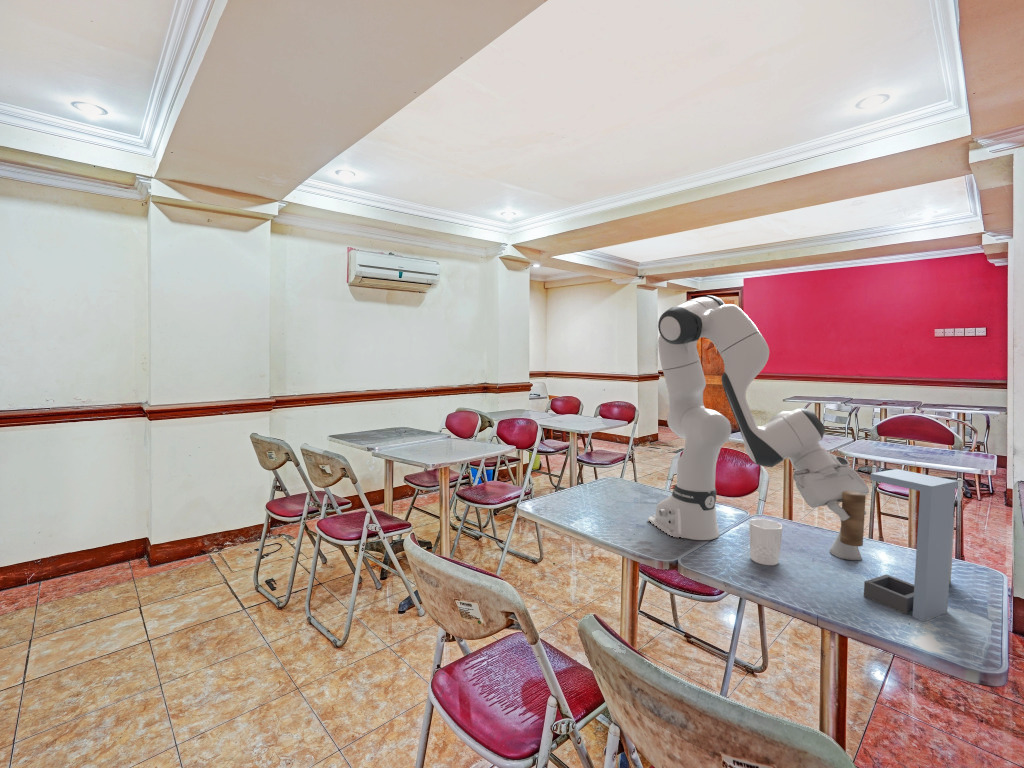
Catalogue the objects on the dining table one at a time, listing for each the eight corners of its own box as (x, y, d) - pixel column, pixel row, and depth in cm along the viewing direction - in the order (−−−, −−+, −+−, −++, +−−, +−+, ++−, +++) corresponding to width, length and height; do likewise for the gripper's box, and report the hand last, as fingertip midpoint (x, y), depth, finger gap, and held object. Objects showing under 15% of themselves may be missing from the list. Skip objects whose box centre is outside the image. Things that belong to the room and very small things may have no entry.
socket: (863, 596, 111) (864, 581, 111) (885, 588, 115) (886, 574, 114) (906, 614, 104) (907, 598, 103) (928, 606, 107) (929, 590, 107)
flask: (851, 550, 137) (853, 515, 136) (867, 561, 130) (869, 525, 129) (824, 549, 137) (826, 515, 137) (839, 560, 130) (841, 524, 129)
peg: (835, 540, 118) (838, 492, 118) (847, 538, 120) (850, 490, 120) (855, 547, 114) (858, 497, 114) (867, 544, 116) (869, 495, 115)
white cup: (743, 560, 130) (745, 524, 129) (753, 551, 136) (754, 516, 135) (776, 569, 125) (777, 531, 124) (784, 559, 131) (786, 523, 130)
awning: (864, 596, 111) (870, 473, 109) (890, 587, 115) (896, 468, 113) (923, 621, 101) (932, 486, 99) (949, 610, 105) (958, 481, 103)
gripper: (798, 465, 118) (838, 517, 110) (850, 457, 127) (890, 505, 119) (781, 478, 122) (817, 529, 114) (832, 470, 131) (869, 517, 123)
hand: (855, 517), depth 116 cm, fingers closed on peg, 4 cm apart
